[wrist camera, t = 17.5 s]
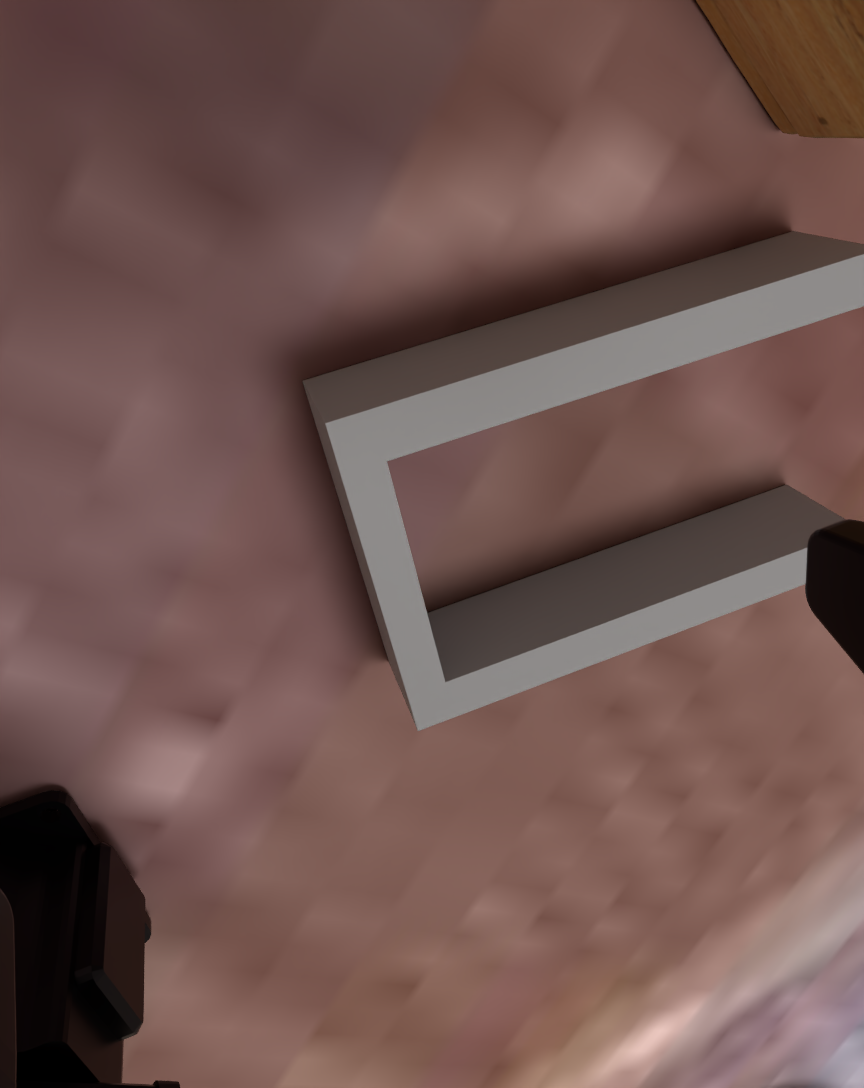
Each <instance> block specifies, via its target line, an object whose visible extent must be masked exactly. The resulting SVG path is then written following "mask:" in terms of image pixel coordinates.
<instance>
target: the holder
mask: <svg viewBox="0 0 864 1088" xmlns="http://www.w3.org/2000/svg"><path fill="white" fill-rule="evenodd" d="M863 306H864V244H859V243H854V242H849V241H843V240H838V239H833V238H827V237H822V236H817V235H811V234H806V233H801V232H795V231H792V232H789V233H786V234H782V235H779V236H776V237H772V238H769V239H766V240H763V241H759V242H756V243H753V244H749V245H746V246H743V247H740V248H736V249H733V250H730V251H727V252H723V253H720V254H717V255H713V256H710V257H707V258H704V259H700V260H697V261H694V262H690V263H687V264H684V265H681V266H677V267H674V268H671V269H667V270H664V271H661V272H658V273H654V274H651V275H648V276H645V277H641V278H638V279H635V280H631V281H628V282H625V283H622V284H618V285H615V286H612V287H608V288H605V289H602V290H599V291H595V292H592V293H589V294H585V295H582V296H579V297H576V298H572V299H569V300H566V301H563V302H559V303H556V304H553V305H549V306H546V307H543V308H540V309H536V310H533V311H530V312H526V313H523V314H520V315H517V316H513V317H510V318H507V319H503V320H500V321H497V322H494V323H490V324H487V325H484V326H481V327H477V328H474V329H471V330H467V331H464V332H461V333H458V334H454V335H451V336H448V337H444V338H441V339H438V340H435V341H431V342H428V343H425V344H421V345H418V346H415V347H412V348H408V349H405V350H402V351H399V352H395V353H392V354H389V355H385V356H382V357H379V358H376V359H372V360H369V361H366V362H362V363H359V364H356V365H353V366H349V367H346V368H343V369H339V370H336V371H333V372H330V373H326V374H323V375H320V376H317V377H313V378H310V379H307V380H303V381H302V382H303V385H304V388H305V391H306V395H307V398H308V401H309V404H310V407H311V411H312V414H313V417H314V420H315V424H316V427H317V430H318V433H319V437H320V440H321V443H322V446H323V450H324V453H325V456H326V459H327V463H328V466H329V469H330V472H331V476H332V479H333V482H334V485H335V489H336V492H337V495H338V498H339V502H340V505H341V508H342V511H343V514H344V518H345V521H346V524H347V527H348V531H349V534H350V537H351V540H352V544H353V547H354V550H355V553H356V557H357V560H358V563H359V566H360V570H361V573H362V576H363V579H364V583H365V586H366V589H367V592H368V596H369V599H370V602H371V605H372V609H373V612H374V615H375V618H376V621H377V625H378V628H379V631H380V634H381V638H382V641H383V644H384V647H385V651H386V654H387V657H388V660H389V663H390V666H391V668H392V671H393V673H394V675H395V678H396V680H397V682H398V685H399V687H400V690H401V692H402V694H403V697H404V699H405V701H406V704H407V706H408V709H409V711H410V713H411V716H412V718H413V720H414V723H415V725H416V728H417V730H418V731H420V730H422V729H425V728H427V727H430V726H433V725H435V724H438V723H441V722H443V721H446V720H448V719H451V718H454V717H456V716H459V715H462V714H464V713H467V712H470V711H472V710H475V709H477V708H480V707H483V706H485V705H488V704H491V703H493V702H496V701H499V700H501V699H504V698H506V697H509V696H512V695H514V694H517V693H520V692H522V691H525V690H527V689H530V688H533V687H535V686H538V685H541V684H543V683H546V682H549V681H551V680H554V679H556V678H559V677H562V676H564V675H567V674H570V673H572V672H575V671H578V670H580V669H583V668H585V667H588V666H591V665H593V664H596V663H599V662H601V661H604V660H606V659H609V658H612V657H614V656H617V655H620V654H622V653H625V652H628V651H630V650H633V649H635V648H638V647H641V646H643V645H646V644H649V643H651V642H654V641H657V640H659V639H662V638H664V637H667V636H670V635H672V634H675V633H678V632H680V631H683V630H685V629H688V628H691V627H693V626H696V625H699V624H701V623H704V622H707V621H709V620H712V619H714V618H717V617H720V616H722V615H725V614H728V613H730V612H733V611H736V610H738V609H741V608H743V607H746V606H749V605H751V604H754V603H757V602H759V601H762V600H764V599H767V598H770V597H772V596H775V595H778V594H780V593H783V592H786V591H788V590H791V589H793V588H796V587H799V586H801V585H804V584H806V564H807V544H808V539H809V537H810V535H811V534H812V533H813V532H814V531H815V530H817V529H819V528H822V527H825V526H828V525H830V524H833V523H836V522H838V521H842V520H846V519H844V518H842V517H841V516H839V515H837V514H836V513H834V512H832V511H831V510H829V509H827V508H825V507H824V506H822V505H820V504H819V503H817V502H815V501H814V500H812V499H810V498H809V497H807V496H805V495H804V494H802V493H800V492H798V491H797V490H795V489H793V488H792V487H790V486H788V485H784V486H781V487H778V488H776V489H773V490H770V491H767V492H764V493H762V494H759V495H756V496H753V497H750V498H748V499H745V500H742V501H739V502H736V503H734V504H731V505H728V506H725V507H722V508H720V509H717V510H714V511H711V512H709V513H706V514H703V515H700V516H697V517H695V518H692V519H689V520H686V521H683V522H681V523H678V524H675V525H672V526H669V527H667V528H664V529H661V530H658V531H655V532H653V533H650V534H647V535H644V536H641V537H639V538H636V539H633V540H630V541H627V542H625V543H622V544H619V545H616V546H613V547H611V548H608V549H605V550H602V551H599V552H597V553H594V554H591V555H588V556H585V557H583V558H580V559H577V560H574V561H571V562H569V563H566V564H563V565H560V566H557V567H555V568H552V569H549V570H546V571H543V572H541V573H538V574H535V575H532V576H529V577H527V578H524V579H521V580H518V581H515V582H513V583H510V584H507V585H504V586H501V587H499V588H496V589H493V590H490V591H488V592H485V593H482V594H479V595H476V596H474V597H471V598H468V599H465V600H462V601H460V602H457V603H454V604H451V605H448V606H446V607H443V608H440V609H437V610H434V611H432V612H429V613H427V611H426V607H425V603H424V600H423V596H422V592H421V588H420V585H419V581H418V577H417V573H416V569H415V566H414V562H413V558H412V554H411V551H410V547H409V543H408V539H407V535H406V532H405V528H404V524H403V520H402V517H401V513H400V509H399V505H398V501H397V498H396V494H395V490H394V486H393V483H392V479H391V475H390V471H389V468H388V464H387V461H390V460H393V459H396V458H399V457H402V456H405V455H408V454H411V453H414V452H417V451H420V450H423V449H426V448H429V447H433V446H436V445H439V444H442V443H445V442H448V441H451V440H454V439H457V438H460V437H463V436H466V435H469V434H472V433H476V432H479V431H482V430H485V429H488V428H491V427H494V426H497V425H500V424H503V423H506V422H509V421H512V420H516V419H519V418H522V417H525V416H528V415H531V414H534V413H537V412H540V411H543V410H546V409H549V408H552V407H555V406H559V405H562V404H565V403H568V402H571V401H574V400H577V399H580V398H583V397H586V396H589V395H592V394H595V393H598V392H602V391H605V390H608V389H611V388H614V387H617V386H620V385H623V384H626V383H629V382H632V381H635V380H638V379H642V378H645V377H648V376H651V375H654V374H657V373H660V372H663V371H666V370H669V369H672V368H675V367H678V366H681V365H685V364H688V363H691V362H694V361H697V360H700V359H703V358H706V357H709V356H712V355H715V354H718V353H721V352H724V351H728V350H731V349H734V348H737V347H740V346H743V345H746V344H749V343H752V342H755V341H758V340H761V339H764V338H768V337H771V336H774V335H777V334H780V333H783V332H786V331H789V330H792V329H795V328H798V327H801V326H804V325H807V324H811V323H814V322H817V321H820V320H823V319H826V318H829V317H832V316H835V315H838V314H841V313H844V312H847V311H850V310H854V309H857V308H860V307H863Z"/></svg>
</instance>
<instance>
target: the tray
mask: <svg viewBox="0 0 864 1088" xmlns="http://www.w3.org/2000/svg"><path fill="white" fill-rule="evenodd" d="M696 1H697V3H698V4H699V6H700V7H701V9H702V10H703V12H704V13H705V15H706V16H707V18H708V19H709V21H710V23H711V24H712V26H713V28H714V29H715V31H716V32H717V34H718V36H719V37H720V39H721V41H722V42H723V44H724V46H725V47H726V49H727V50H728V52H729V54H730V55H731V57H732V58H733V60H734V62H735V63H736V65H737V66H738V68H739V69H740V71H741V72H742V74H743V75H744V77H745V78H746V80H747V81H748V83H749V84H750V86H751V87H752V89H753V90H754V92H755V93H756V95H757V97H758V98H759V100H760V101H761V103H762V104H763V106H764V107H765V109H766V110H767V112H768V113H769V115H770V116H771V118H772V119H773V121H774V122H775V124H776V125H777V126H778V127H779V129H780V130H781V131H782V132H783V133H787V134H799V136H803V137H813V138H864V0H696Z"/></svg>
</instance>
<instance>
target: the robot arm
mask: <svg viewBox="0 0 864 1088" xmlns="http://www.w3.org/2000/svg"><path fill="white" fill-rule="evenodd" d="M805 592H806V598H807V601H808V604H809V606H810V608H811V610H812V612H813V613H814V614H815V616H816V617H817V618H818V619H819V621H820V622H821V623H822V624H823V625H824V627H825V628H826V629H827V630H828V632H829V633H830V634H831V635H832V636H833V638H834V639H835V640H836V641H837V642H838V644H839V645H840V646H841V647H842V648H843V650H844V651H845V652H846V653H847V654H848V656H849V657H850V658H851V659H852V660H853V662H854V663H855V664H856V665H857V666H858V668H859V669H860V670H861V671H862V673H863V674H864V522H862V521H857V520H842V521H838V522H836V523H833V524H830V525H828V526H825V527H822V528H819V529H817V530H815V531H814V532H813V533H812V534H811V535H810V537H809V539H808V544H807V564H806V586H805ZM50 808H54V809H58V811H54V812H49V811H46V809H50ZM150 936H151V920H150V917H149V916H148V914H147V913H146V911H145V897H144V895H143V894H142V892H141V890H140V889H139V887H138V886H137V884H136V883H135V881H134V880H133V878H132V876H131V875H130V873H129V872H128V870H127V869H126V867H125V866H124V864H123V863H122V861H121V859H120V858H119V856H118V855H117V853H116V852H115V850H114V849H113V847H112V846H110V845H108V844H106V843H104V842H102V843H100V841H99V840H98V838H97V836H96V835H95V833H94V832H93V830H92V829H91V827H90V826H89V824H88V823H87V821H86V820H85V818H84V817H83V815H82V814H81V812H80V810H79V809H78V807H77V806H76V804H75V803H74V801H73V800H72V798H71V797H70V796H69V795H68V794H67V793H64V792H61V791H54V790H51V791H47V792H43V793H40V794H37V795H35V796H32V797H29V798H26V799H24V800H21V801H18V802H15V803H13V804H10V805H7V806H5V807H2V808H0V1088H180V1084H179V1082H177V1081H155V1082H154V1083H153V1085H148V1084H126V1083H122V1070H123V1043H124V1039H126V1038H129V1037H131V1036H133V1035H136V1034H137V1033H138V1031H139V1029H140V1027H141V1025H142V1023H143V1013H144V948H145V943H146V942H147V941H148V940H149V938H150Z"/></svg>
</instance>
